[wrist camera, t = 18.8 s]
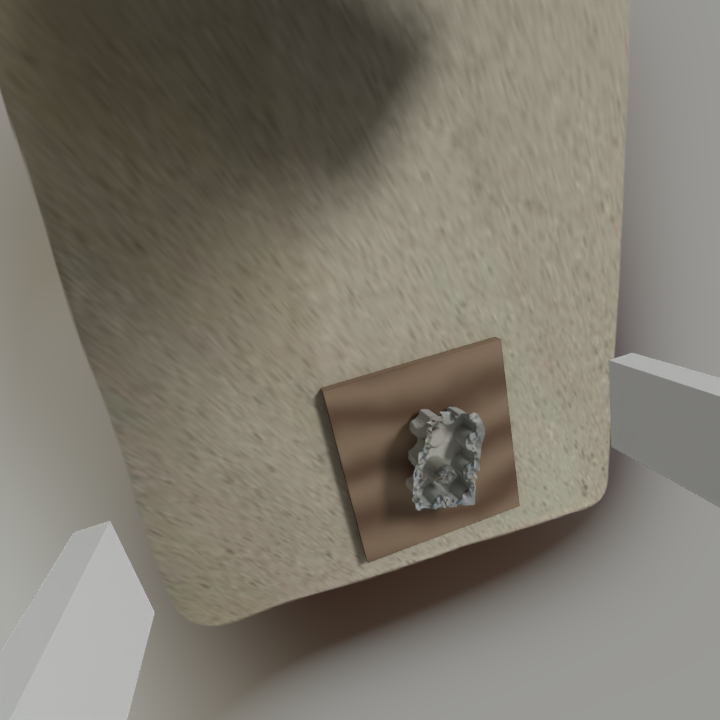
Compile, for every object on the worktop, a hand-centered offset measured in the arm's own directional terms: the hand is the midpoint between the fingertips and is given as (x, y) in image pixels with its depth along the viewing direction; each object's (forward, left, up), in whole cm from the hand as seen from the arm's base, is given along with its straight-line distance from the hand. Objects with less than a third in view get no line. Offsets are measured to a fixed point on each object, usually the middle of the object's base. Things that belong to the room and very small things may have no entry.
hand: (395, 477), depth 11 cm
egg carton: (+20, +9, -31) cm, 38 cm away
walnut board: (+20, +11, -32) cm, 39 cm away
